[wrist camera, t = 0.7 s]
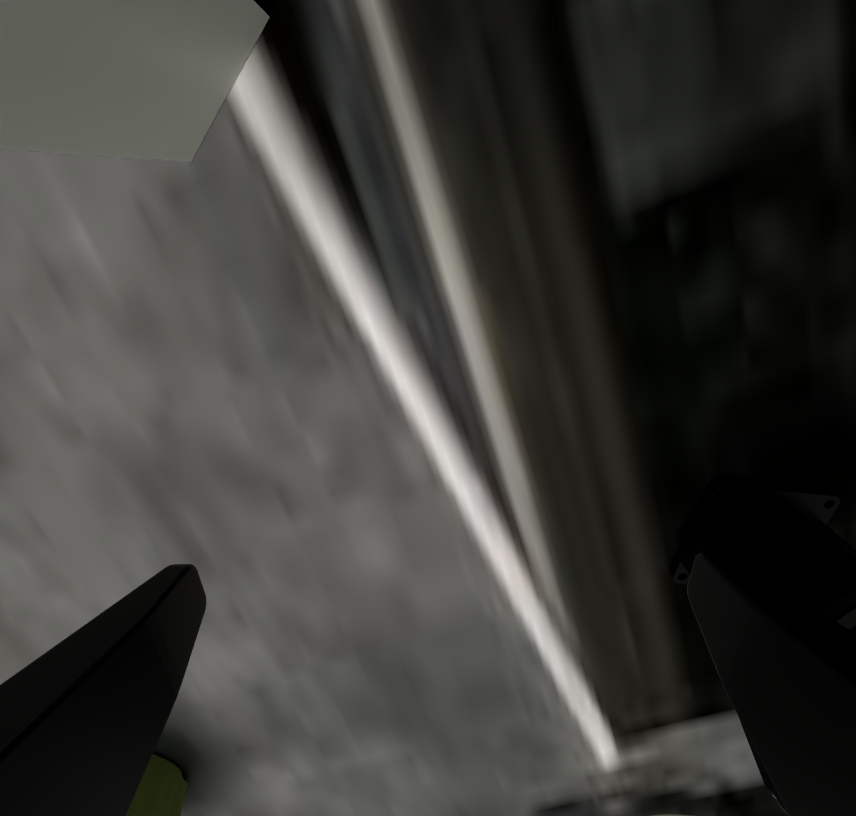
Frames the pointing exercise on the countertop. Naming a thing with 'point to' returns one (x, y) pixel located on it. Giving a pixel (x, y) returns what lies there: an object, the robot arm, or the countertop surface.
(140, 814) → the plant pot
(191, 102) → the tall pale rectangular prism
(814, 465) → the countertop surface
